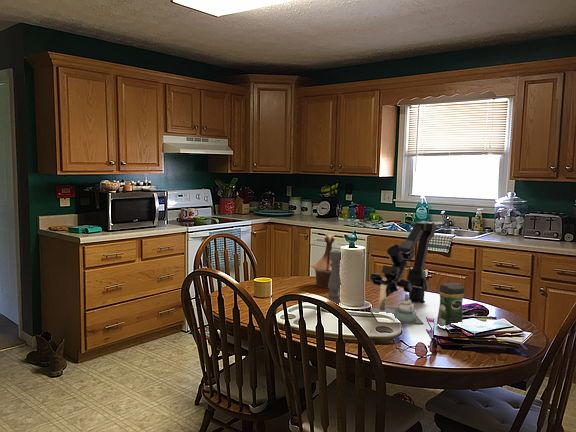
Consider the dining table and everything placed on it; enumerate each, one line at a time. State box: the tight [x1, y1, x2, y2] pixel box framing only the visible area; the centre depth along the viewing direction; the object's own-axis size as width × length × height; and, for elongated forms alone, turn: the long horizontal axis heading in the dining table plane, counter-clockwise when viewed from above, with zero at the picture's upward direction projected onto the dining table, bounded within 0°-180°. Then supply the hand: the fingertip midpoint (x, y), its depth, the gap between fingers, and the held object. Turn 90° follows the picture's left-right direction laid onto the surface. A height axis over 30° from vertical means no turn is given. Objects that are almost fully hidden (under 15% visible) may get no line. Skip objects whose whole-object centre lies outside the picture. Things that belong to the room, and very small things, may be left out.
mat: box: [369, 307, 424, 325], centre depth 214 cm, size 19×19×1 cm
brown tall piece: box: [310, 233, 336, 289], centre depth 261 cm, size 18×17×28 cm
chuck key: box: [378, 284, 415, 314], centre depth 209 cm, size 14×6×11 cm, turn 66°
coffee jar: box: [436, 282, 465, 326], centre depth 200 cm, size 10×8×19 cm
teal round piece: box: [394, 310, 417, 322], centre depth 208 cm, size 9×9×4 cm
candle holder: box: [326, 249, 342, 305], centre depth 227 cm, size 6×6×25 cm
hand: (382, 298), depth 213 cm, fingers closed, pressing on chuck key
